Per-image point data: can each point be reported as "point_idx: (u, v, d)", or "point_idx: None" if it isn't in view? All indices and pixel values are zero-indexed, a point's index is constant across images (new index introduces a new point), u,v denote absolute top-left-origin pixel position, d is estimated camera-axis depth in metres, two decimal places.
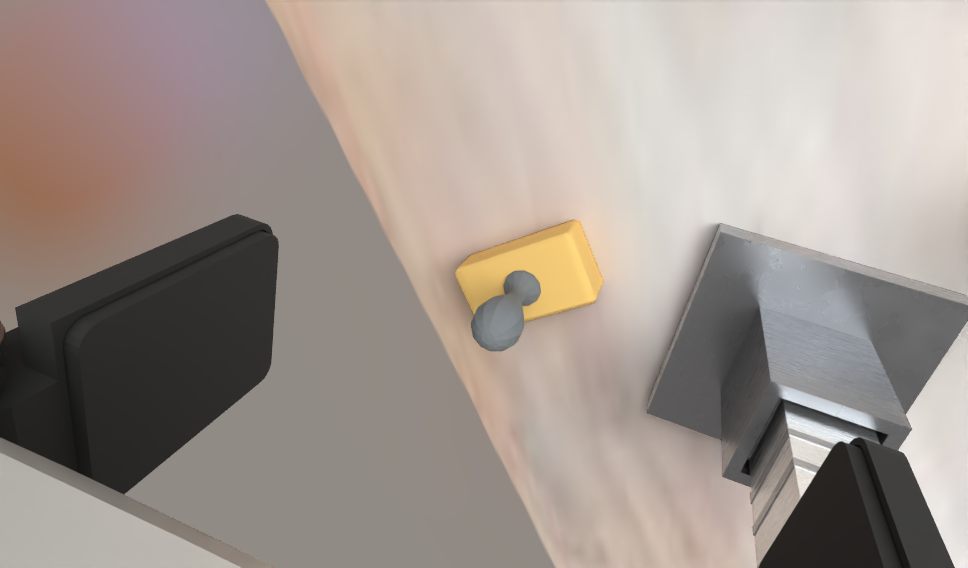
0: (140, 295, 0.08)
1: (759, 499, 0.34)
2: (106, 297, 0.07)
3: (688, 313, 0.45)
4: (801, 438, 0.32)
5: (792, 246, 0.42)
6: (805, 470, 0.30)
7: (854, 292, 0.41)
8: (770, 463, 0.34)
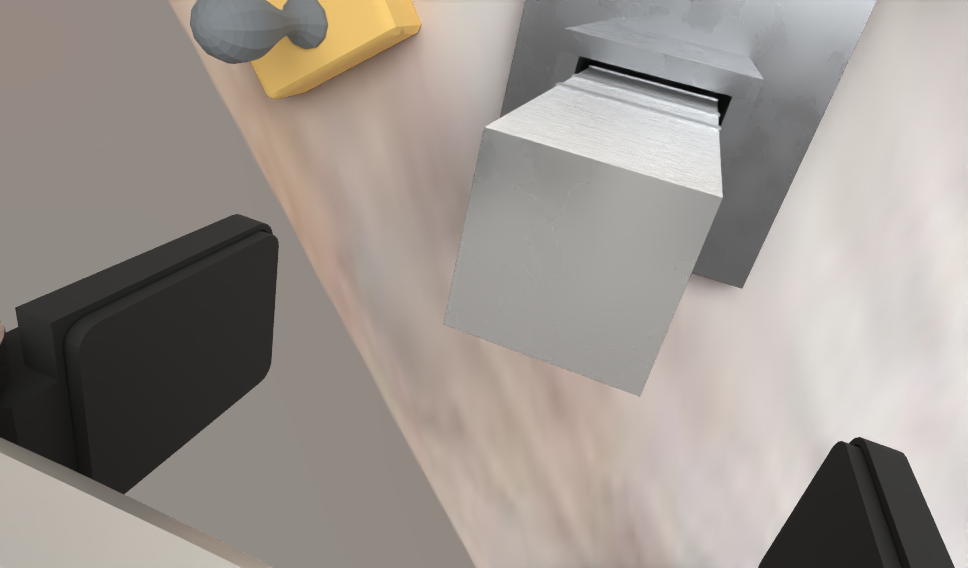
0: (140, 295, 0.08)
1: None
2: (106, 297, 0.07)
3: (517, 45, 0.34)
4: (590, 80, 0.21)
5: None
6: (571, 90, 0.19)
7: None
8: None
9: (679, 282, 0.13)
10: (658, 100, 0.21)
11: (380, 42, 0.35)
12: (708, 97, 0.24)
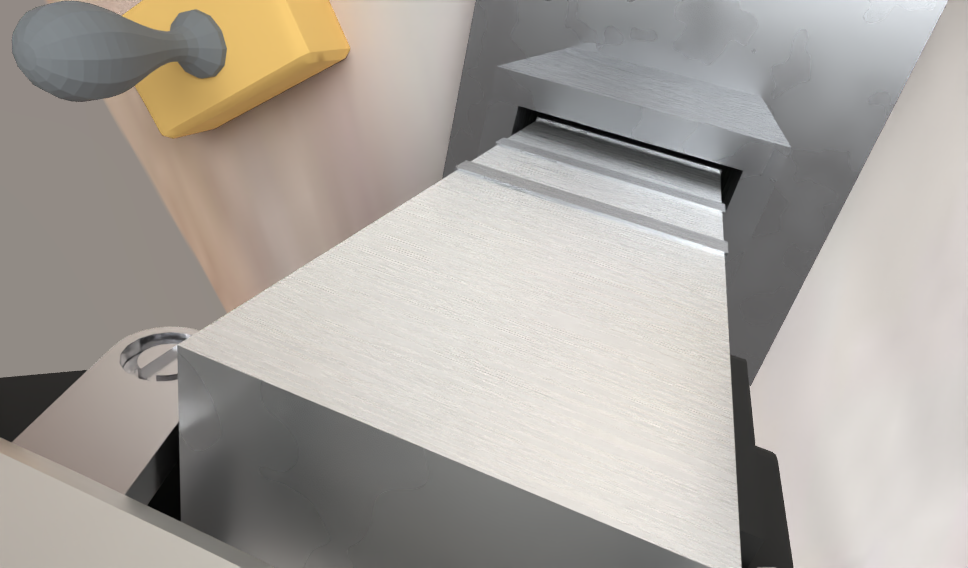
0: None
1: None
2: None
3: (463, 76, 0.26)
4: (523, 150, 0.14)
5: None
6: (480, 178, 0.11)
7: None
8: None
9: None
10: (629, 184, 0.13)
11: (292, 71, 0.27)
12: (707, 167, 0.16)
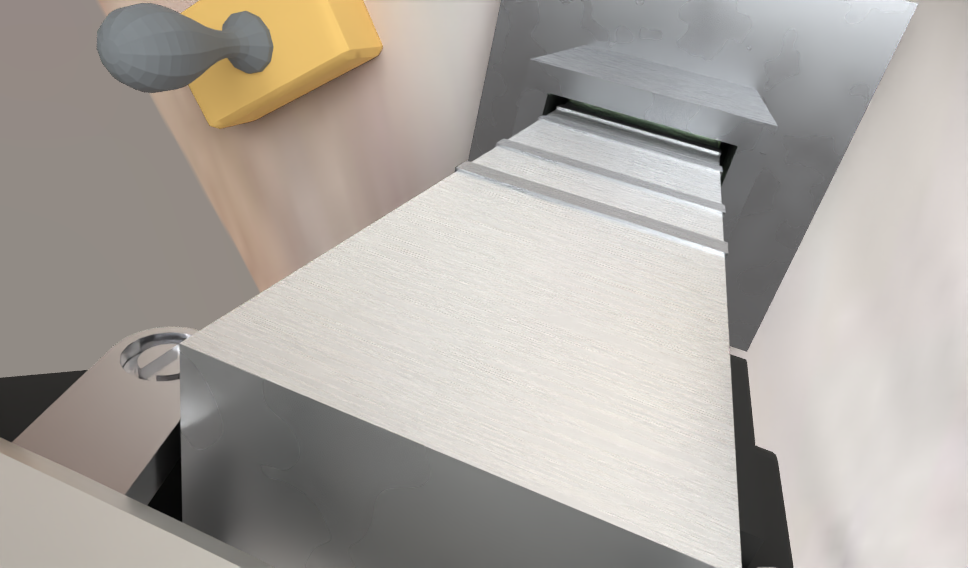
0: None
1: None
2: None
3: (488, 71, 0.29)
4: (524, 151, 0.14)
5: None
6: (481, 179, 0.11)
7: None
8: None
9: None
10: (629, 185, 0.13)
11: (332, 67, 0.30)
12: (707, 168, 0.16)
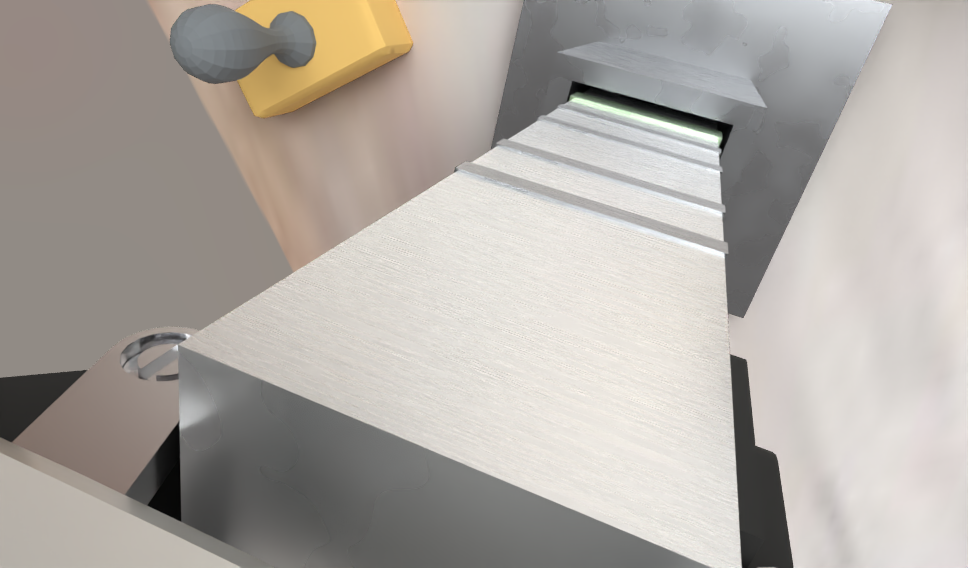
0: None
1: None
2: None
3: (511, 65, 0.33)
4: (524, 151, 0.14)
5: None
6: (481, 179, 0.11)
7: (724, 0, 0.28)
8: None
9: None
10: (629, 186, 0.13)
11: (370, 61, 0.34)
12: (707, 168, 0.16)
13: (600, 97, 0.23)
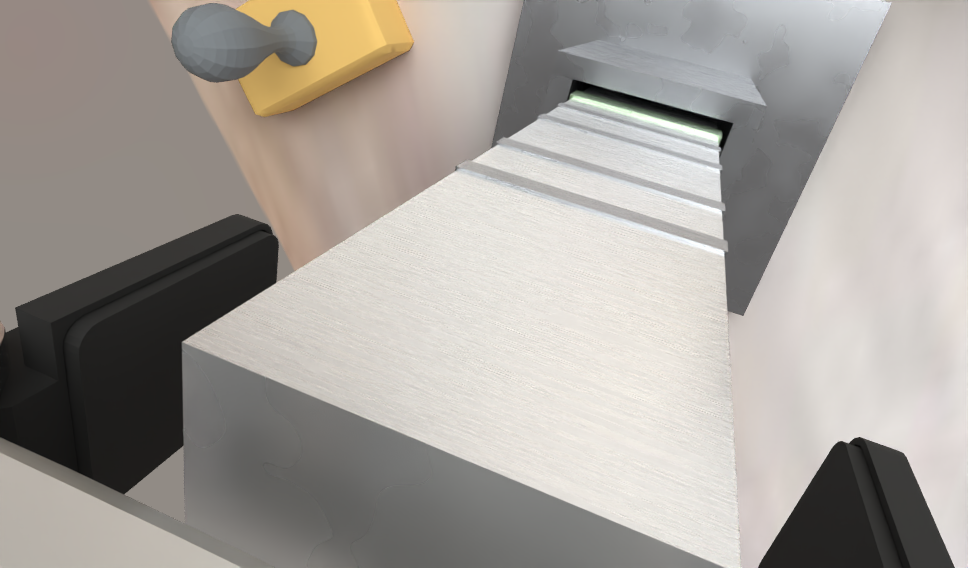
0: (140, 295, 0.08)
1: None
2: (106, 297, 0.07)
3: (511, 64, 0.33)
4: (524, 149, 0.14)
5: None
6: (481, 177, 0.11)
7: None
8: None
9: None
10: (629, 184, 0.13)
11: (370, 60, 0.34)
12: (707, 166, 0.16)
13: (600, 95, 0.23)
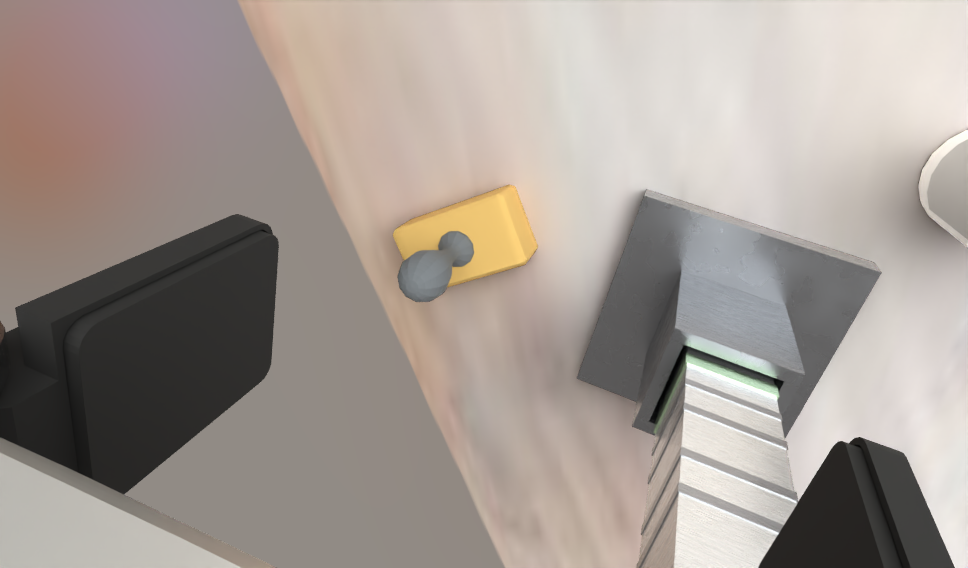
0: (140, 295, 0.08)
1: (647, 531, 0.28)
2: (106, 297, 0.07)
3: (615, 277, 0.46)
4: (695, 459, 0.27)
5: (713, 212, 0.44)
6: (690, 498, 0.25)
7: (769, 256, 0.42)
8: (661, 488, 0.29)
9: None
10: (749, 483, 0.27)
11: (512, 268, 0.47)
12: (779, 445, 0.30)
13: (699, 351, 0.37)
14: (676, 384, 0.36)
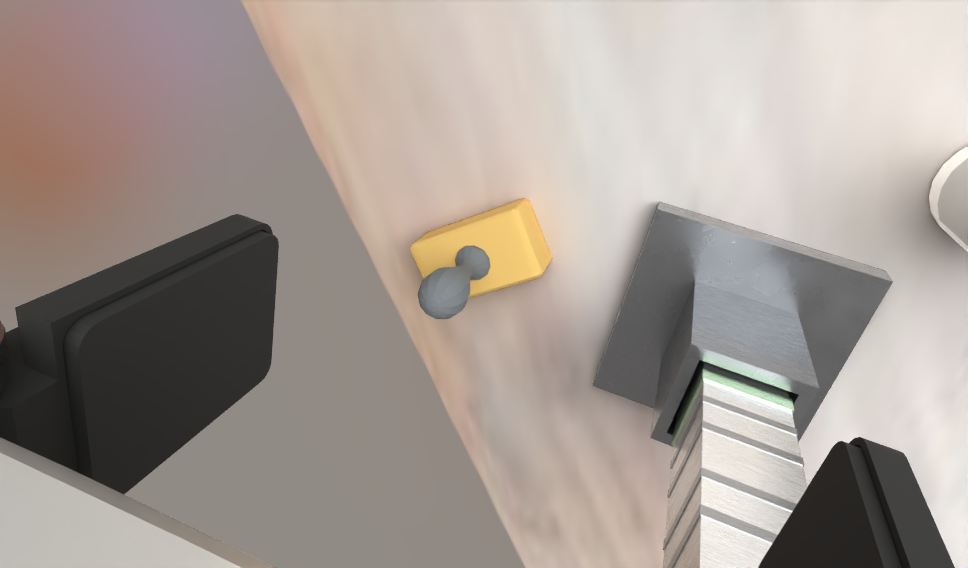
0: (140, 295, 0.08)
1: (670, 548, 0.30)
2: (106, 296, 0.07)
3: (629, 288, 0.47)
4: (715, 480, 0.28)
5: (725, 224, 0.45)
6: (712, 520, 0.26)
7: (782, 267, 0.43)
8: (682, 506, 0.30)
9: None
10: (768, 502, 0.28)
11: (528, 280, 0.48)
12: (795, 462, 0.31)
13: (714, 366, 0.38)
14: (693, 399, 0.37)
